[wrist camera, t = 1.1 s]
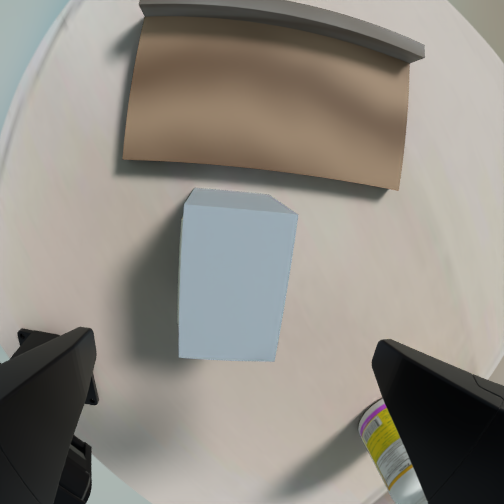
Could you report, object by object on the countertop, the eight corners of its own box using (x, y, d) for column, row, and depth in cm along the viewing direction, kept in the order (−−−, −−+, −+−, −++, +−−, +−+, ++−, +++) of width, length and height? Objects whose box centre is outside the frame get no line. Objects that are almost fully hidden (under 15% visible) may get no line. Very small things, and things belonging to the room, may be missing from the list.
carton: (268, 194, 19) (298, 214, 13) (255, 299, 21) (274, 361, 15) (191, 187, 19) (179, 204, 12) (184, 295, 20) (174, 357, 14)
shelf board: (389, 188, 20) (413, 194, 17) (127, 159, 17) (112, 159, 15) (400, 53, 17) (424, 43, 14) (151, 9, 15) (143, -12, 12)
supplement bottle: (416, 414, 28) (473, 495, 15) (363, 443, 28) (408, 535, 16) (410, 378, 26) (483, 470, 13) (349, 412, 26) (404, 520, 14)
